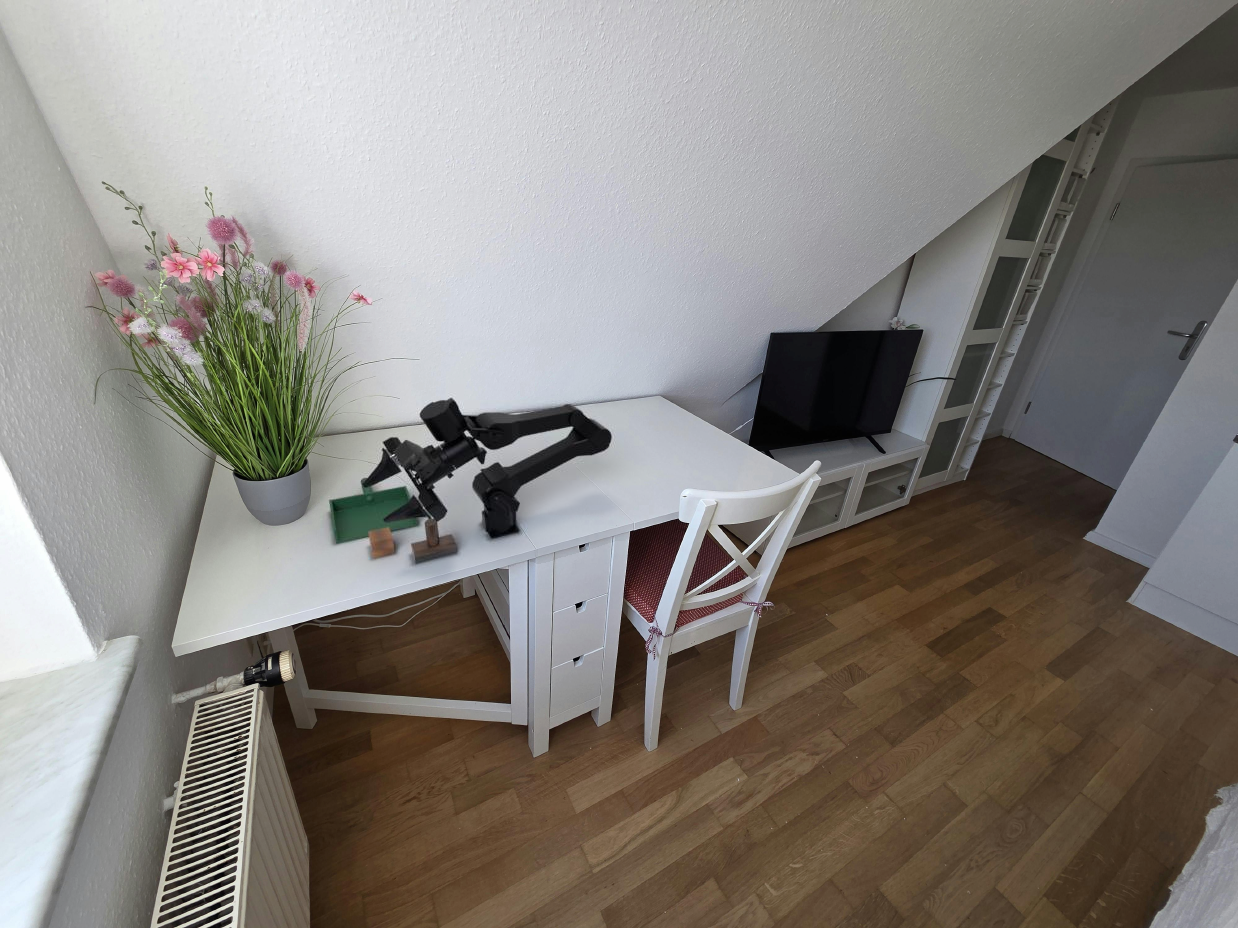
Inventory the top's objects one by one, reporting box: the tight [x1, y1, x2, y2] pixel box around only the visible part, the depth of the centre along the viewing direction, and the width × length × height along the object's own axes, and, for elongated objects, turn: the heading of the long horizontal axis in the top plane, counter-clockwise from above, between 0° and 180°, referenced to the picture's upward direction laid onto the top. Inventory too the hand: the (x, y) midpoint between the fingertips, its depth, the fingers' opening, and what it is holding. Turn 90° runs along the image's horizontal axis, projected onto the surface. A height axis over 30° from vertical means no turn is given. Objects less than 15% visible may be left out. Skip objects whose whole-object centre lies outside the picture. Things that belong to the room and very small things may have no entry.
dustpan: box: [328, 477, 419, 544], centre depth 116 cm, size 22×16×3 cm
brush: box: [410, 518, 457, 565], centre depth 102 cm, size 8×3×8 cm, turn 120°
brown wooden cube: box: [368, 527, 396, 559], centre depth 103 cm, size 4×4×4 cm
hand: (373, 503), depth 95 cm, fingers open, 9 cm apart
